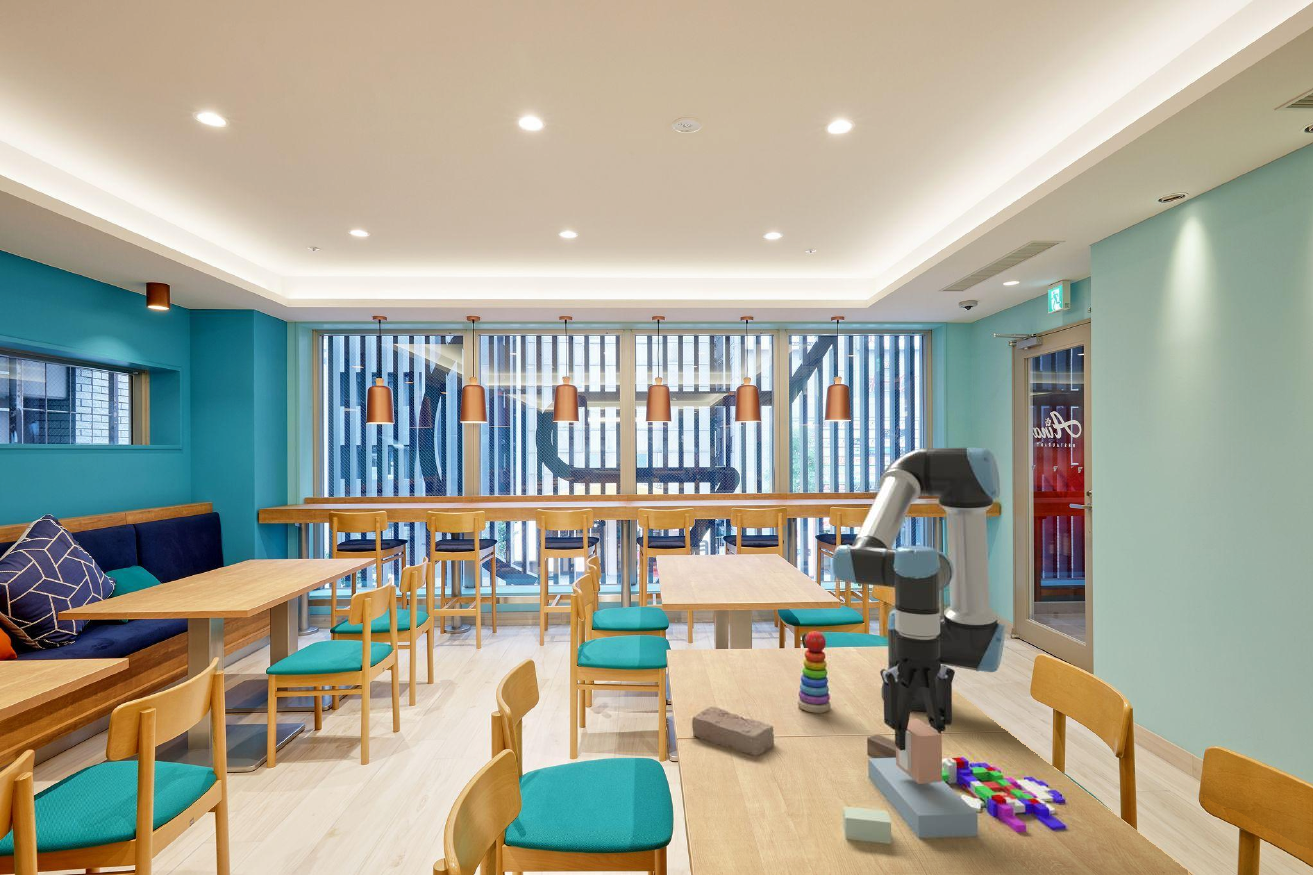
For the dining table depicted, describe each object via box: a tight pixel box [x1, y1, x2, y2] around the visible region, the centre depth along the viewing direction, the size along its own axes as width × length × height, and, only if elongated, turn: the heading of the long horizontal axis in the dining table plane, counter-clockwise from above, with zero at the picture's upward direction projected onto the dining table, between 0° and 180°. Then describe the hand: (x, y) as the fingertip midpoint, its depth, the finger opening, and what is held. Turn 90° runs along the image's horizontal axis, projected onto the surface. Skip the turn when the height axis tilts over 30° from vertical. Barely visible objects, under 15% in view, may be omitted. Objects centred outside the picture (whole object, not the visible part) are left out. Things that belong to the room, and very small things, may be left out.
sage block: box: [842, 805, 892, 845], centre depth 105 cm, size 4×7×4 cm, turn 79°
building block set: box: [942, 756, 1067, 833], centre depth 119 cm, size 25×20×4 cm
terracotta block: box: [896, 718, 943, 784], centre depth 115 cm, size 4×7×8 cm, turn 11°
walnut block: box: [866, 733, 896, 758], centre depth 132 cm, size 4×7×4 cm, turn 33°
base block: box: [867, 757, 979, 839], centre depth 114 cm, size 10×20×4 cm, turn 4°
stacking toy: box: [797, 630, 832, 714], centre depth 159 cm, size 8×8×19 cm
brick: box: [691, 706, 775, 757], centre depth 141 cm, size 17×8×5 cm, turn 52°
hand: (918, 765), depth 115 cm, fingers closed on terracotta block, 4 cm apart
